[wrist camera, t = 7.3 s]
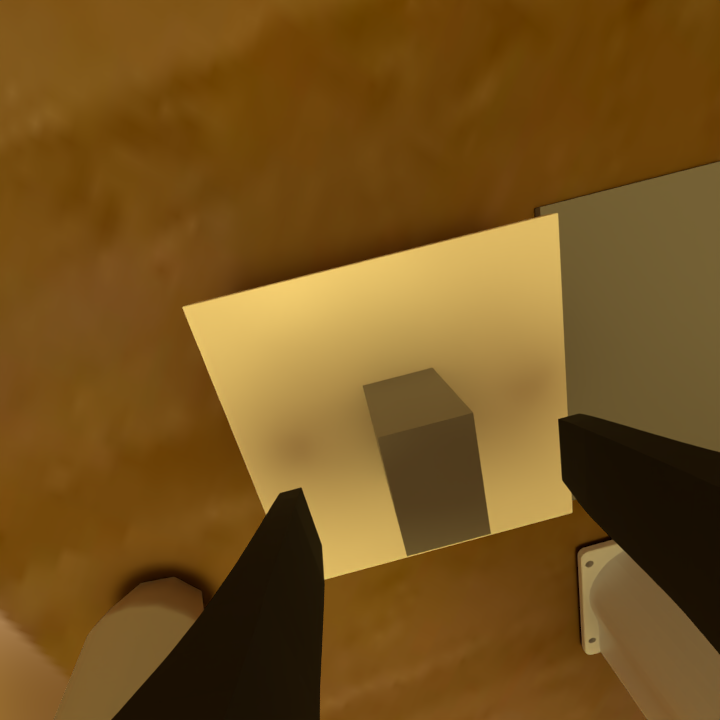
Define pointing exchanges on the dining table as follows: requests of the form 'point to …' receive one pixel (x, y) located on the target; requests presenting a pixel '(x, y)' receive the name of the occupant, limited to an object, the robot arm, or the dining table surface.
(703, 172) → the mat
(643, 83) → the dining table surface
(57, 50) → the dining table surface
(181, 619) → the salt shaker
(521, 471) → the lid
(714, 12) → the dining table surface
